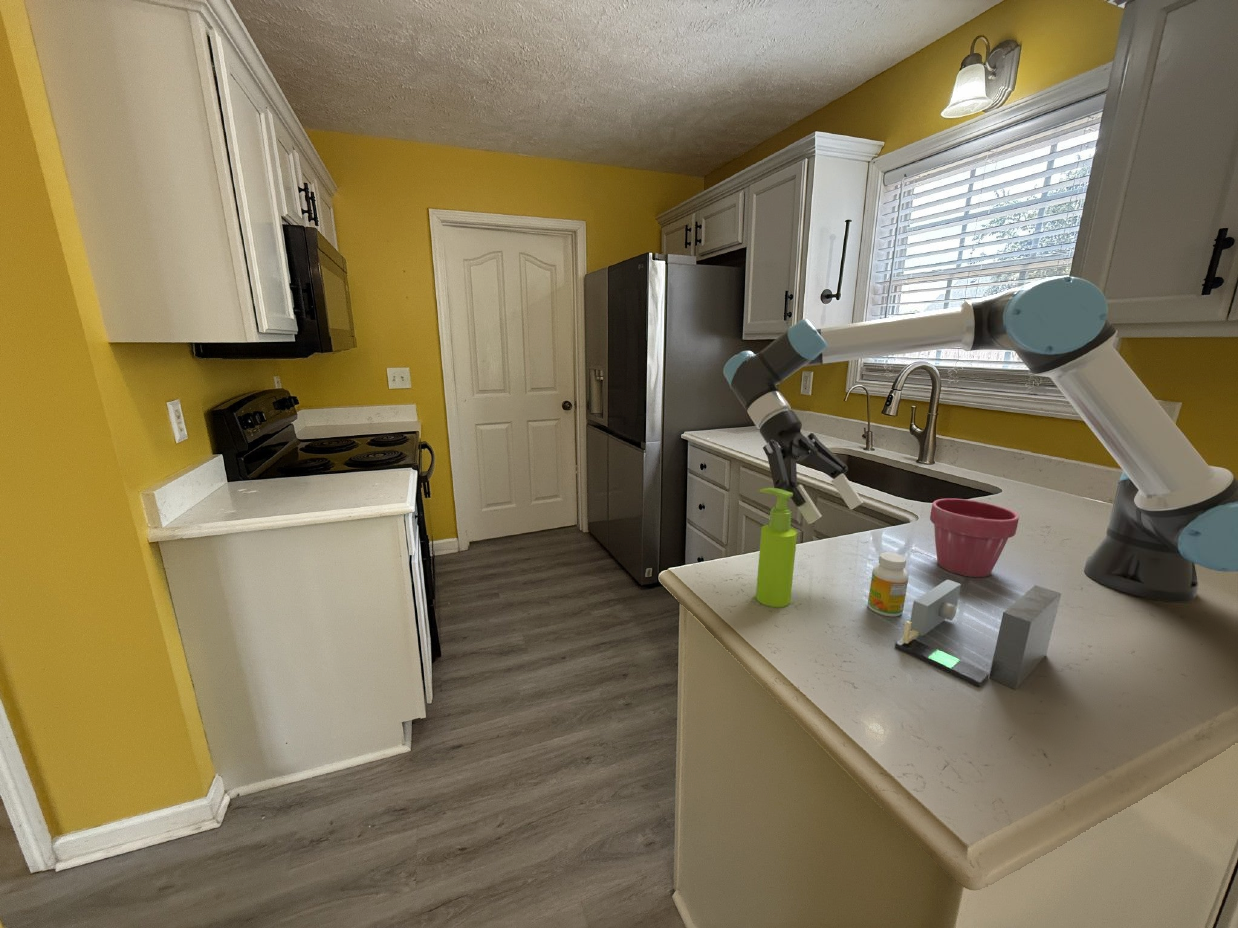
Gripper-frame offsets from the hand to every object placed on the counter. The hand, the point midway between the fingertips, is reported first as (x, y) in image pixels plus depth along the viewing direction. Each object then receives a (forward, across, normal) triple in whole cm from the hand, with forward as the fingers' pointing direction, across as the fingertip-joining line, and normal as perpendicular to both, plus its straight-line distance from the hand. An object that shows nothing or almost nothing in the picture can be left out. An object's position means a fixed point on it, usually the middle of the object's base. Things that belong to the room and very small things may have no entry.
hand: (837, 513), depth 91 cm
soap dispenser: (+8, +13, -13) cm, 20 cm away
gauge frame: (+27, +2, +7) cm, 28 cm away
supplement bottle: (+18, 0, -3) cm, 18 cm away
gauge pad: (+23, +2, +4) cm, 23 cm away
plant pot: (+19, -30, -2) cm, 35 cm away
